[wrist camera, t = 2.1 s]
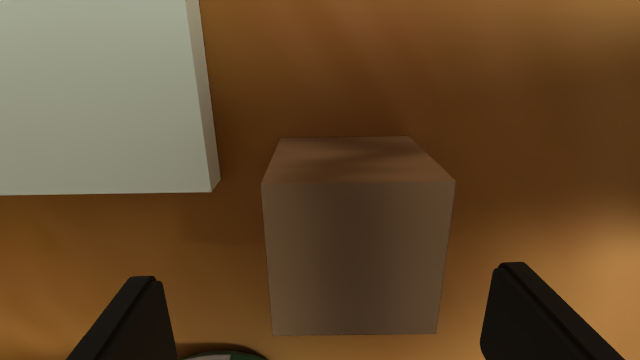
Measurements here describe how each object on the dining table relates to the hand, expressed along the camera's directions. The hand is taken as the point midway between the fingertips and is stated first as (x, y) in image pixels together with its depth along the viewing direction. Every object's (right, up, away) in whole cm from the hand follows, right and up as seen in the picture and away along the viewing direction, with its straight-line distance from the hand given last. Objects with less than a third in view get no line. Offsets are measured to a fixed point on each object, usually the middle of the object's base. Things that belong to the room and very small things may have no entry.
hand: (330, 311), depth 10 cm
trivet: (-11, +9, +5) cm, 15 cm away
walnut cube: (+1, +3, +8) cm, 8 cm away
